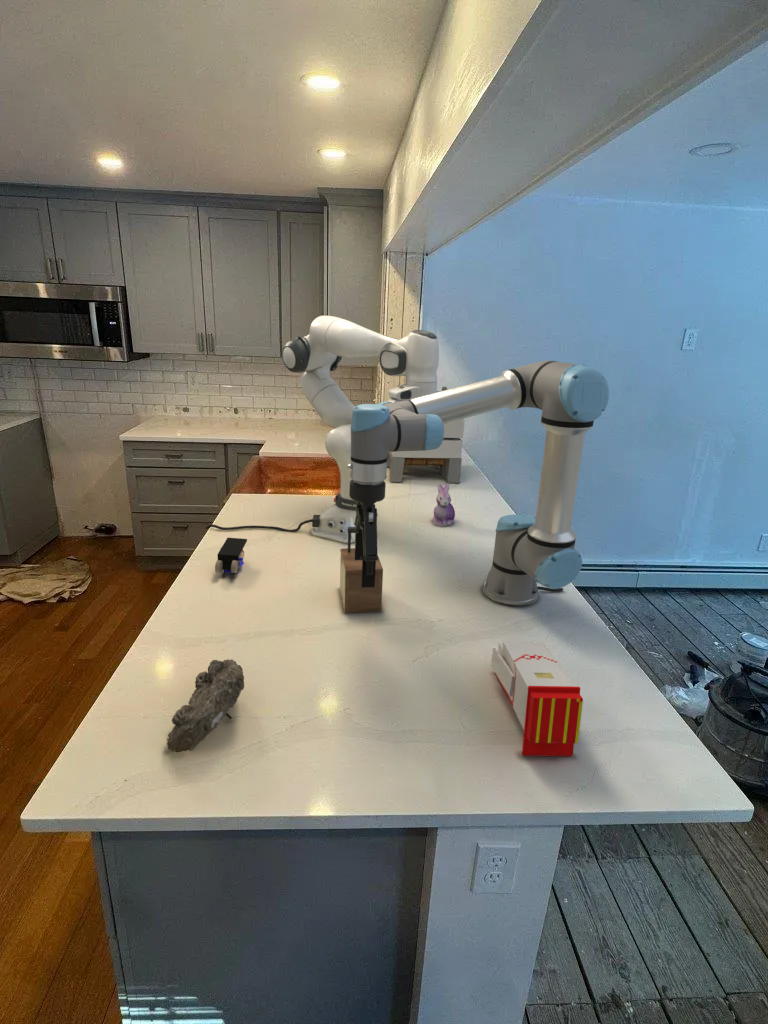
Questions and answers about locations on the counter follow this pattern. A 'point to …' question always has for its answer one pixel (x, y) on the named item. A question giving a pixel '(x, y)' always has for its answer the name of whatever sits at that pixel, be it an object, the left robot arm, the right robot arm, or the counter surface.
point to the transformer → (433, 455)
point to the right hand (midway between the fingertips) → (364, 572)
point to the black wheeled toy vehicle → (230, 556)
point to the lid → (349, 558)
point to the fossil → (206, 705)
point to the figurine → (443, 507)
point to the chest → (359, 592)
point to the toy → (539, 697)
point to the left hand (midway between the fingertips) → (417, 440)
